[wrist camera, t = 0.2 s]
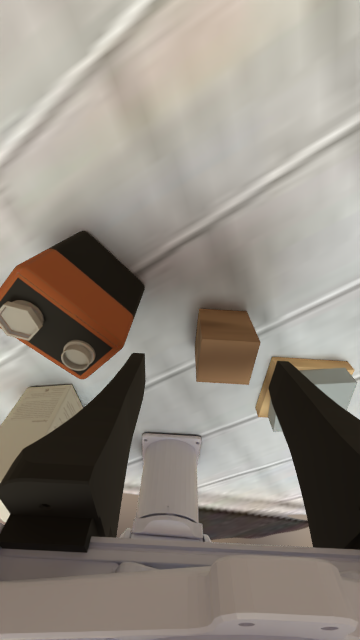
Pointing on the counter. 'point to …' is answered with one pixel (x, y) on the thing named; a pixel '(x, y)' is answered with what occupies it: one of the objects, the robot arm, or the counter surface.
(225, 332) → the walnut block
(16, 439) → the small box
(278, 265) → the counter surface
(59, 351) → the battery
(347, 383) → the gray slab
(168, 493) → the robot arm
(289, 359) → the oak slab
